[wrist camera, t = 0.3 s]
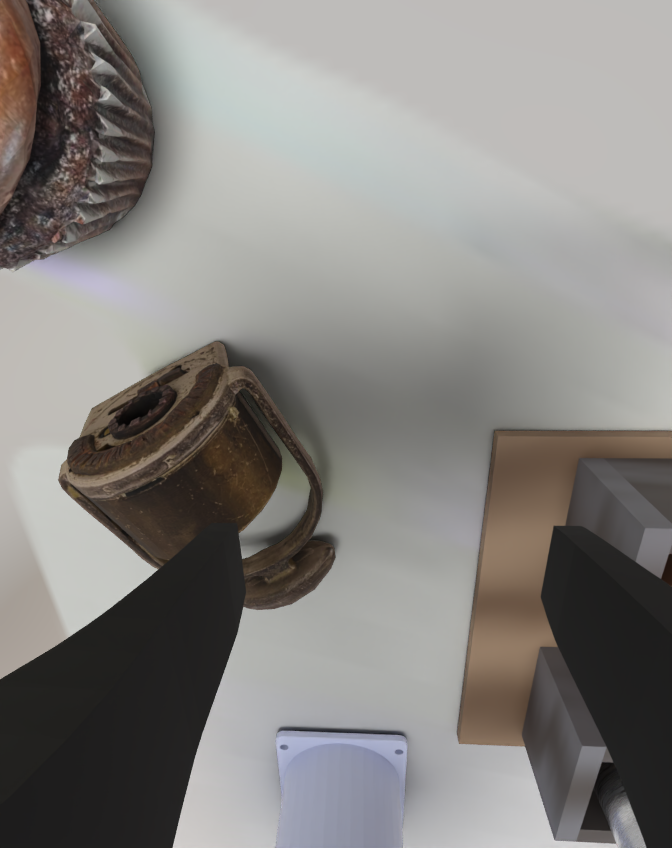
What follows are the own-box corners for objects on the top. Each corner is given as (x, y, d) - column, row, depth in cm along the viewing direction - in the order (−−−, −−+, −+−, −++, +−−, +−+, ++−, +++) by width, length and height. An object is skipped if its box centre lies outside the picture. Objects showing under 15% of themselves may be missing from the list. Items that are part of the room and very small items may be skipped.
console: (698, 743, 27) (777, 863, 22) (457, 733, 28) (478, 848, 23) (836, 431, 19) (1009, 505, 14) (494, 430, 20) (540, 500, 15)
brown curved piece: (340, 351, 14) (-29, 387, 12) (363, 689, 17) (84, 744, 16) (312, 329, 20) (73, 351, 19) (333, 575, 24) (135, 607, 23)
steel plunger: (660, 787, 23) (736, 928, 18) (577, 783, 23) (631, 922, 18) (682, 733, 21) (771, 873, 17) (593, 730, 21) (656, 867, 17)
